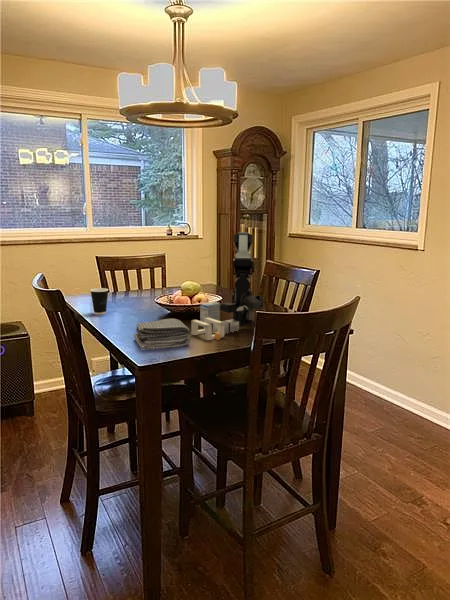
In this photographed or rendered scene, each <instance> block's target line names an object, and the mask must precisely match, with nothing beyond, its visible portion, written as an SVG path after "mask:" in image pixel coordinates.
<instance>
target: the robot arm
mask: <svg viewBox="0 0 450 600" xmlns="http://www.w3.org/2000/svg"><path fill="white" fill-rule="evenodd" d="M253 238H254V235H253V234H251V233H250V232H248V231H244V232H243V231H238V232H237V233H235V234H233V245H234V250H235V251H236V253H235V255H234V258H233V259H232V260H233V261H232V262H233V263H232V275H233V276H234V277H235V278H234V288H233V290H232V293H231V295H232V296H231V302H222V303H220V312H225V313H228V314H230V313H232V314H233V315H232V317H233V318H232V319H233V320H237V321H239V327H244V325H245V323H246V322H245V321H247V322H251V321H250V320H252V318H250V313H251V312H252V311H254V310H258V309H259V308H263V307H264V302H263V301H264V299H263V298H264V297H263V296H262V295H261V294H260V295H257V296H254V295H253V291H252V290H251V282H250V281H251V280H250V279H251V277H250V276H253V274H254V273H255V262H254V260H253V259H252V255H251V253H250V252H251V250H252V245H253V243H254V242H253V240H254V239H253Z"/></svg>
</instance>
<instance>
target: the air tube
mask: <svg viewBox="0 0 450 600" xmlns="http://www.w3.org/2000/svg"><path fill="white" fill-rule="evenodd" d="M220 321H221V320H220ZM221 322H224V335H227V334H231V333H230V332H232V333H235V332H234V331H237V332H239V331H240V325H239V321H237V320H233V318H231V319H226V320H222V321H221ZM238 330H239V331H238ZM215 332H218V325H216V324H213V325H212V333H213V334H214V333H215ZM226 333H227V334H226Z"/></svg>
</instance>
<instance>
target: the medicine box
mask: <svg viewBox="0 0 450 600" xmlns="http://www.w3.org/2000/svg"><path fill="white" fill-rule="evenodd" d="M220 305H221V303H220V302H217V301H209V302H204V303H200V305H199V307H200V308H199V309H200V312H199V313H200V315H199V317H200V320H199V321H202V322H204V318H207V317H209V318H212V319H215V320H218V321H221V310H220ZM210 324H211V325H212V326H213V323H210Z"/></svg>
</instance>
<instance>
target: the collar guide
mask: <svg viewBox="0 0 450 600" xmlns="http://www.w3.org/2000/svg"><path fill="white" fill-rule="evenodd" d="M210 323H213V324H216V325H218V332H215V334H214V333H213V325H211V324H210ZM190 324H191V325H190V326H191V328H190V329H191V335H192V336H197V335H203V334H204V340H205V341H211V340H217V341H220V340H221V339H222V338H225V334H224V322H221V320H220V321H218V320H215V319H212V318H209V317H207V318H204V322H202V321H200V320H198V319H192V320H191V323H190ZM199 327H202V328H203V329H199ZM212 333H213V334H212Z"/></svg>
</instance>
